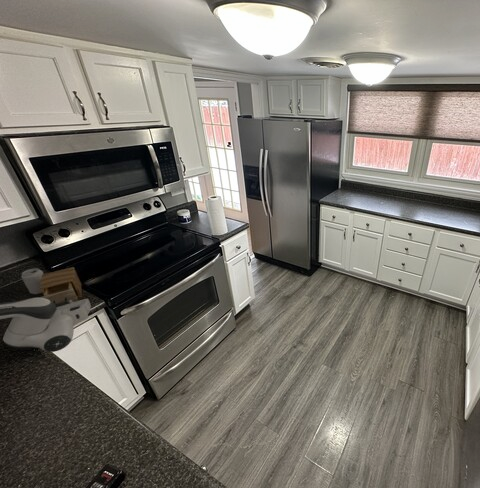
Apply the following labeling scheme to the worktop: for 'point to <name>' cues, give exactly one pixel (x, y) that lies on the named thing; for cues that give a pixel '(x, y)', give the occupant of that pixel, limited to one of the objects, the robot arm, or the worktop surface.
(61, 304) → the drawer
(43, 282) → the storage box
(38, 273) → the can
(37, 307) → the robot arm
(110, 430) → the worktop surface
